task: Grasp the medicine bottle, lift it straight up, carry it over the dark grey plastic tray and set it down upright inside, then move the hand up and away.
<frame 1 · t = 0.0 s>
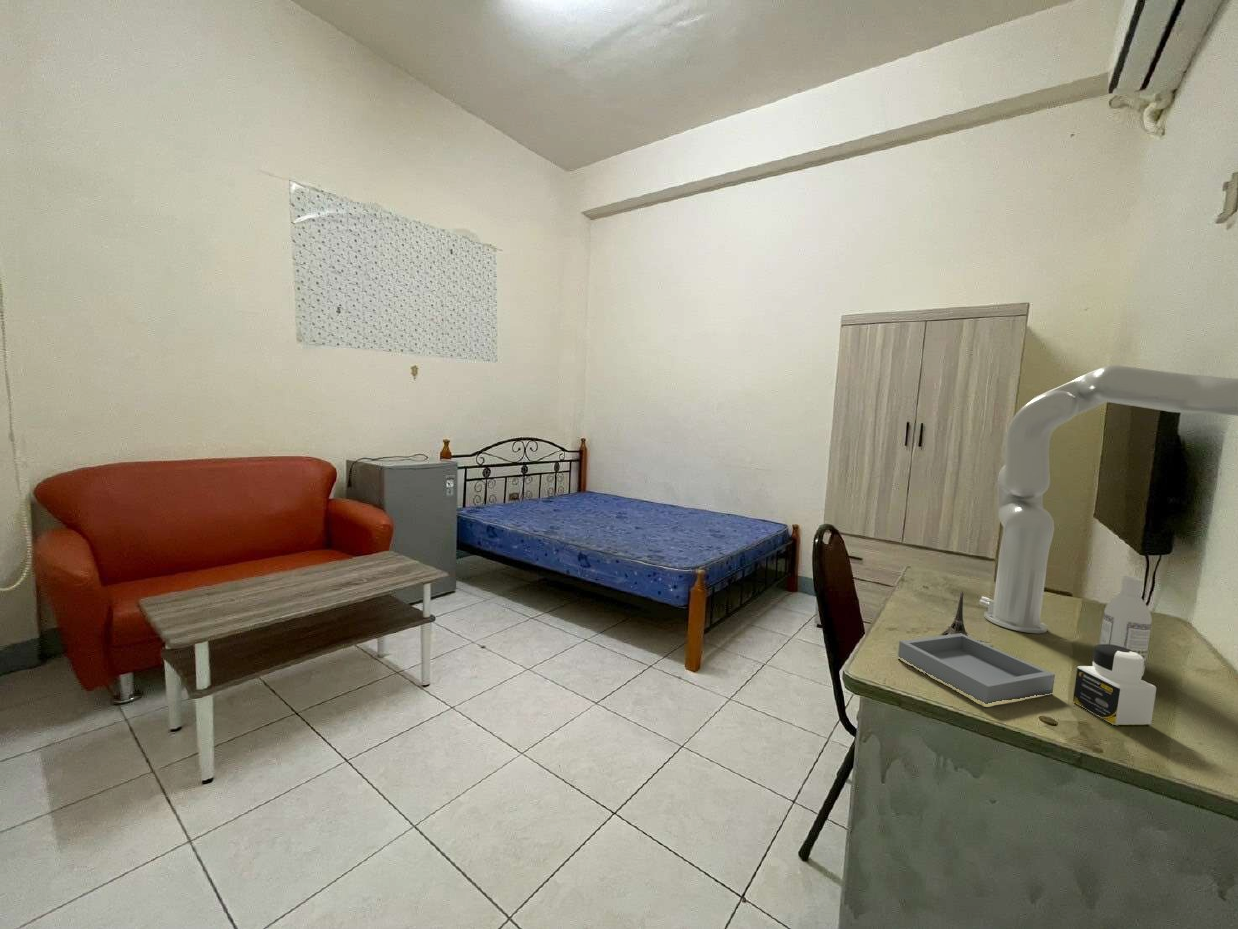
medicine bottle: (1109, 715, 86), on the table
bath foam: (1119, 670, 103), on the table
eiffel tower figurine: (958, 645, 112), on the table
tray: (970, 675, 97), on the table
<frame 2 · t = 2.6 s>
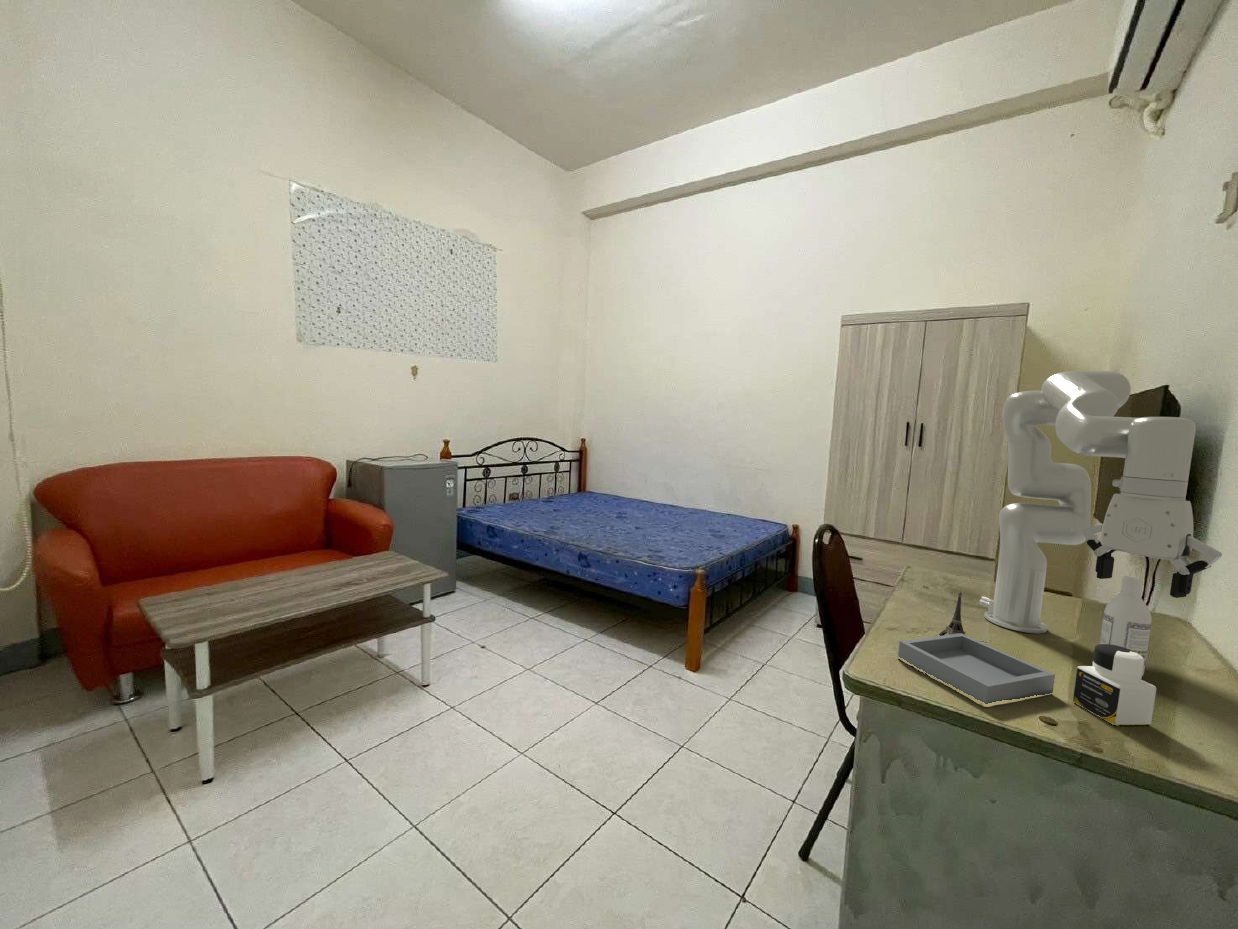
hand: (1139, 586, 84), 23 cm above the table, tool pointing down, fingers open, 9 cm apart
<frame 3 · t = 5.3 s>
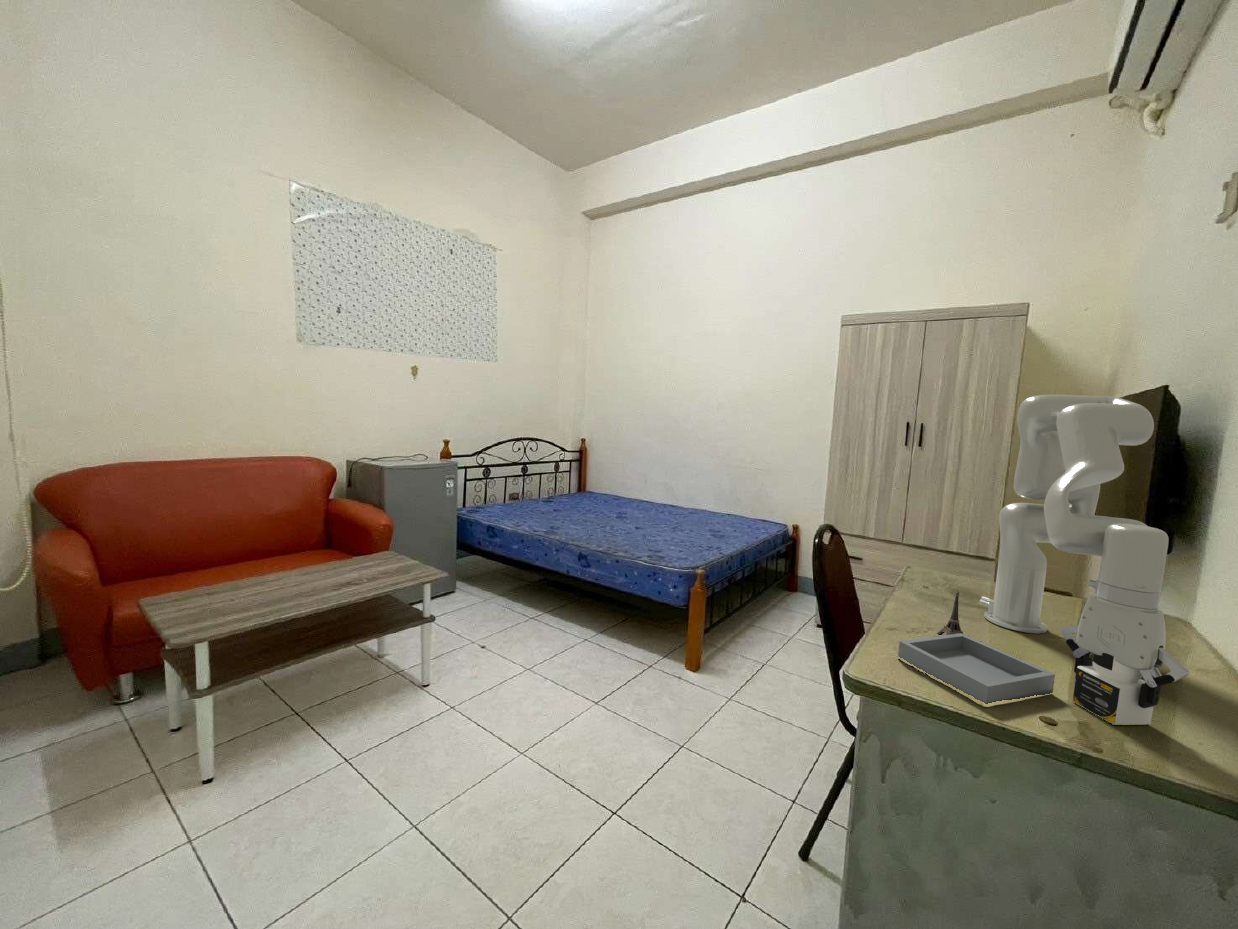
hand: (1112, 691, 85), 4 cm above the table, tool pointing down, fingers closed on medicine bottle, 8 cm apart
medicine bottle: (1109, 715, 86), on the table, touching gripper
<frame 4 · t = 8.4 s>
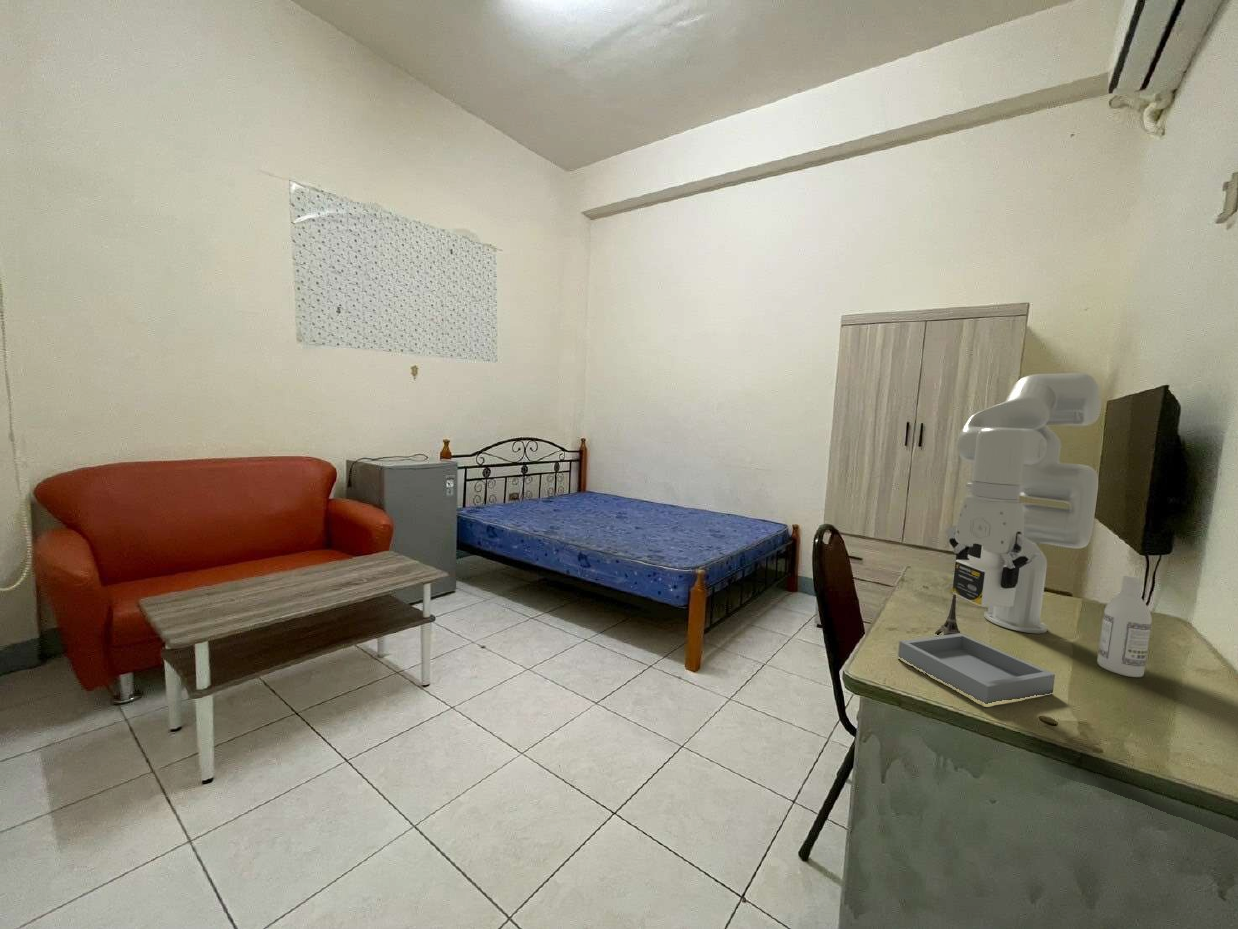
hand: (984, 579, 95), 20 cm above the table, tool pointing down, fingers closed on medicine bottle, 8 cm apart
medicine bottle: (981, 601, 95), point 15 cm above the table, touching gripper
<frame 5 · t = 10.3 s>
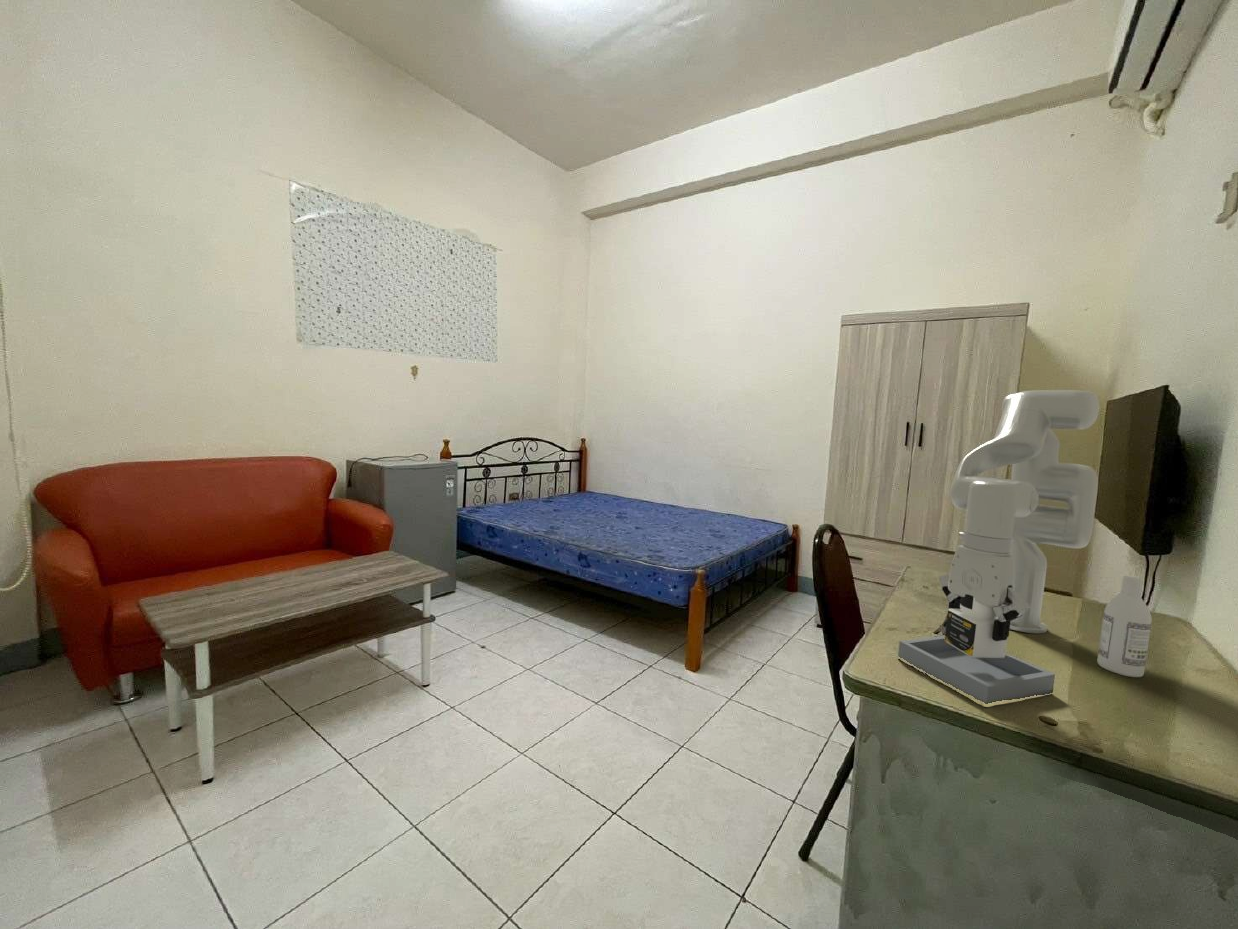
hand: (976, 629, 96), 10 cm above the table, tool pointing down, fingers closed on medicine bottle, 8 cm apart
medicine bottle: (973, 650, 96), point 5 cm above the table, touching gripper
when the fingers open (6 cm above the table, at t = 11.6 s): medicine bottle drops 1 cm, resting on tray.
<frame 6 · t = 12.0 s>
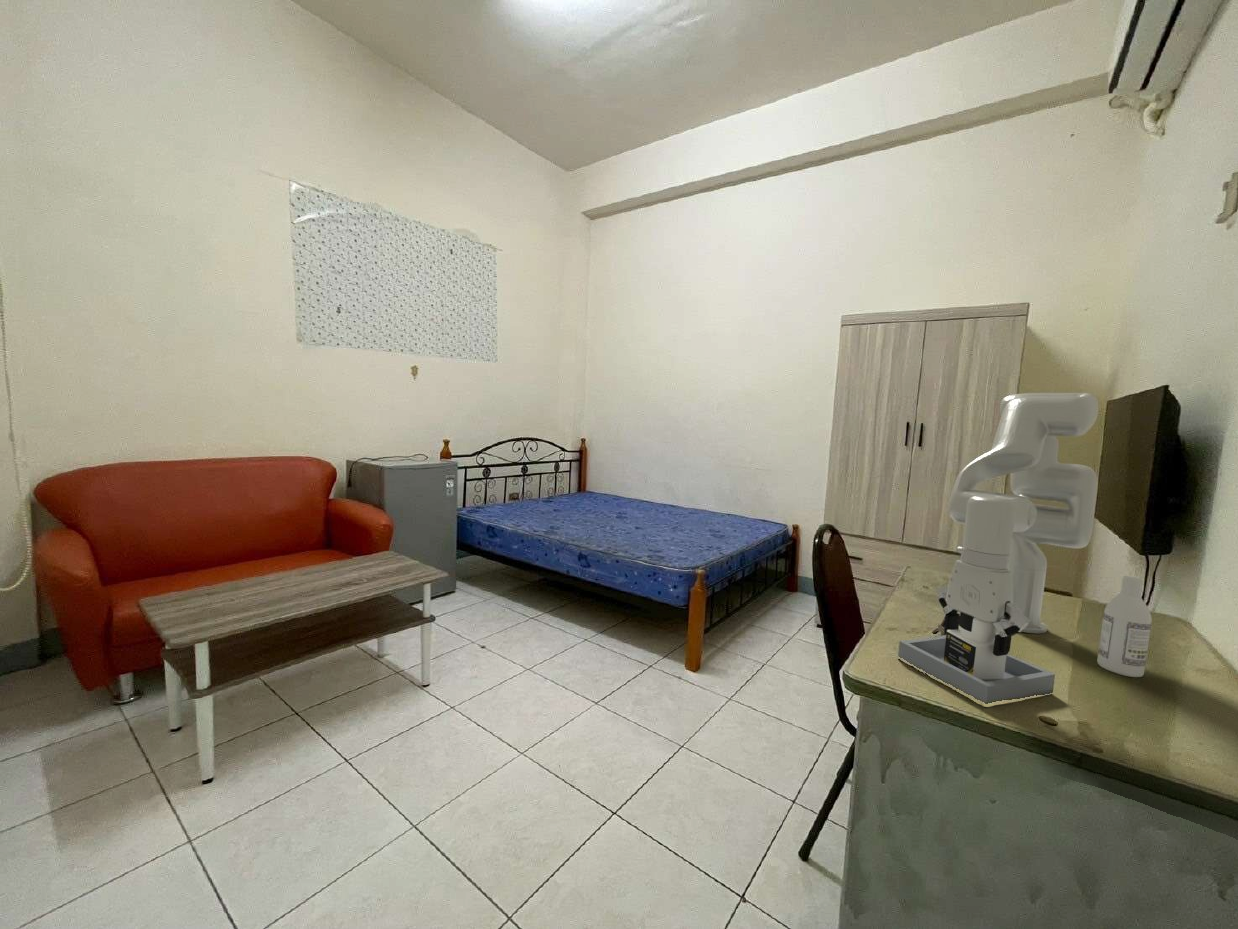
hand: (974, 643, 96), 7 cm above the table, tool pointing down, fingers open, 9 cm apart
medicine bottle: (972, 672, 97), point 1 cm above the table, touching tray
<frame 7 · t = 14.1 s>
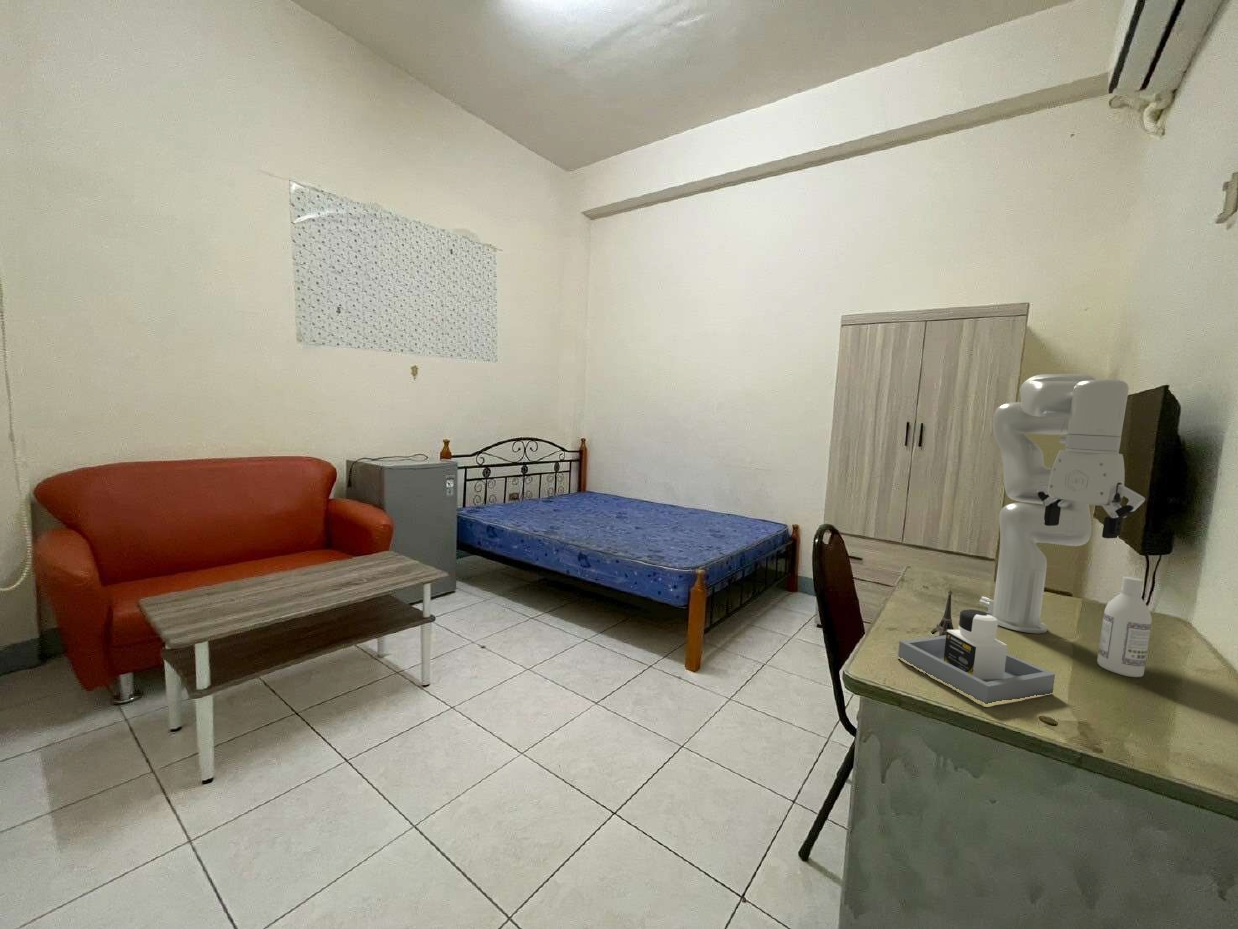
hand: (1079, 531, 95), 30 cm above the table, tool pointing down, fingers open, 9 cm apart
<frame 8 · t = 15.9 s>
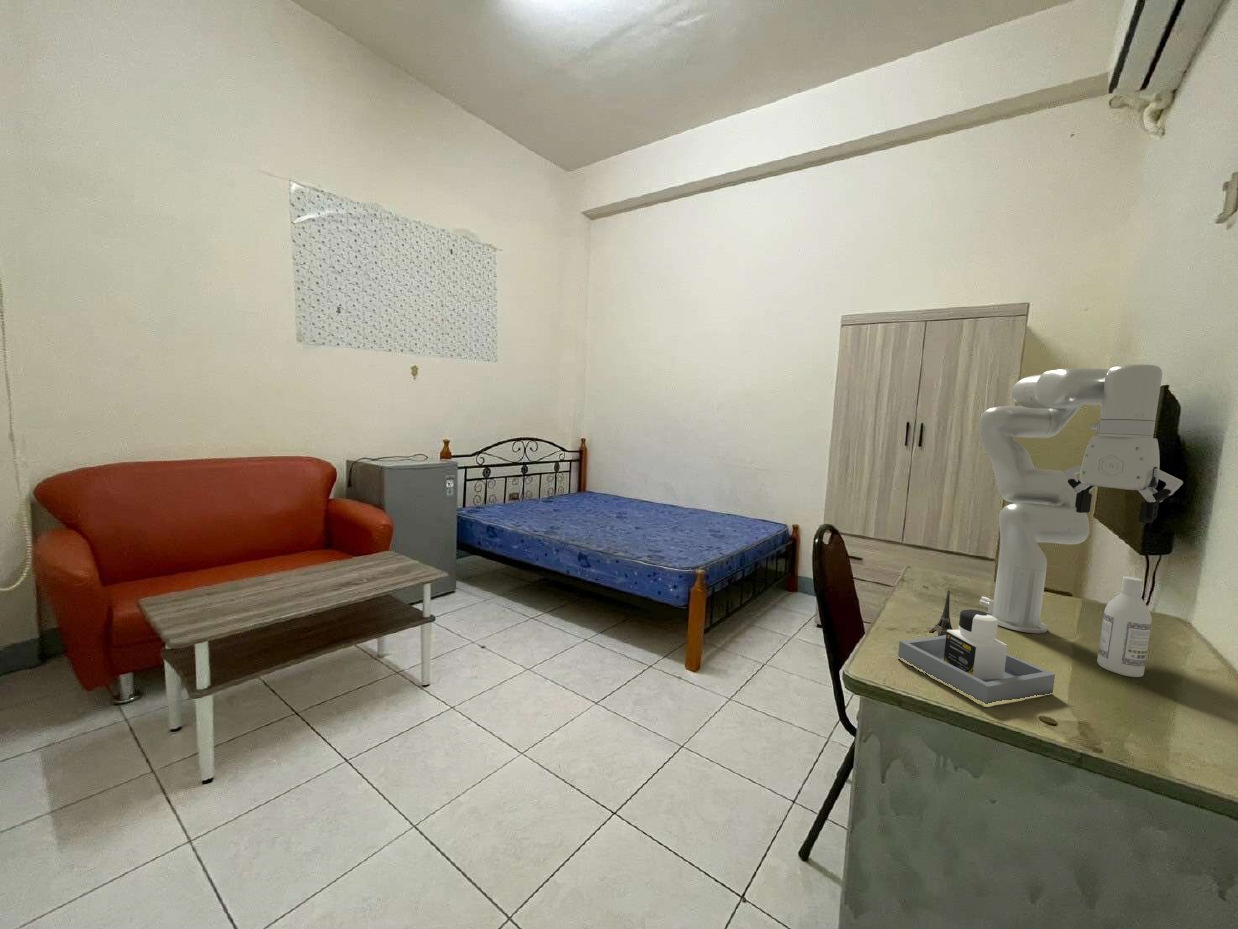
hand: (1112, 517, 95), 33 cm above the table, tool pointing down, fingers open, 9 cm apart
at the end: medicine bottle inside the target area on the tray (0.3 cm from its centre), point 0.8 cm above the tray's base; medicine bottle tilted 0°; the gripper is holding nothing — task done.
